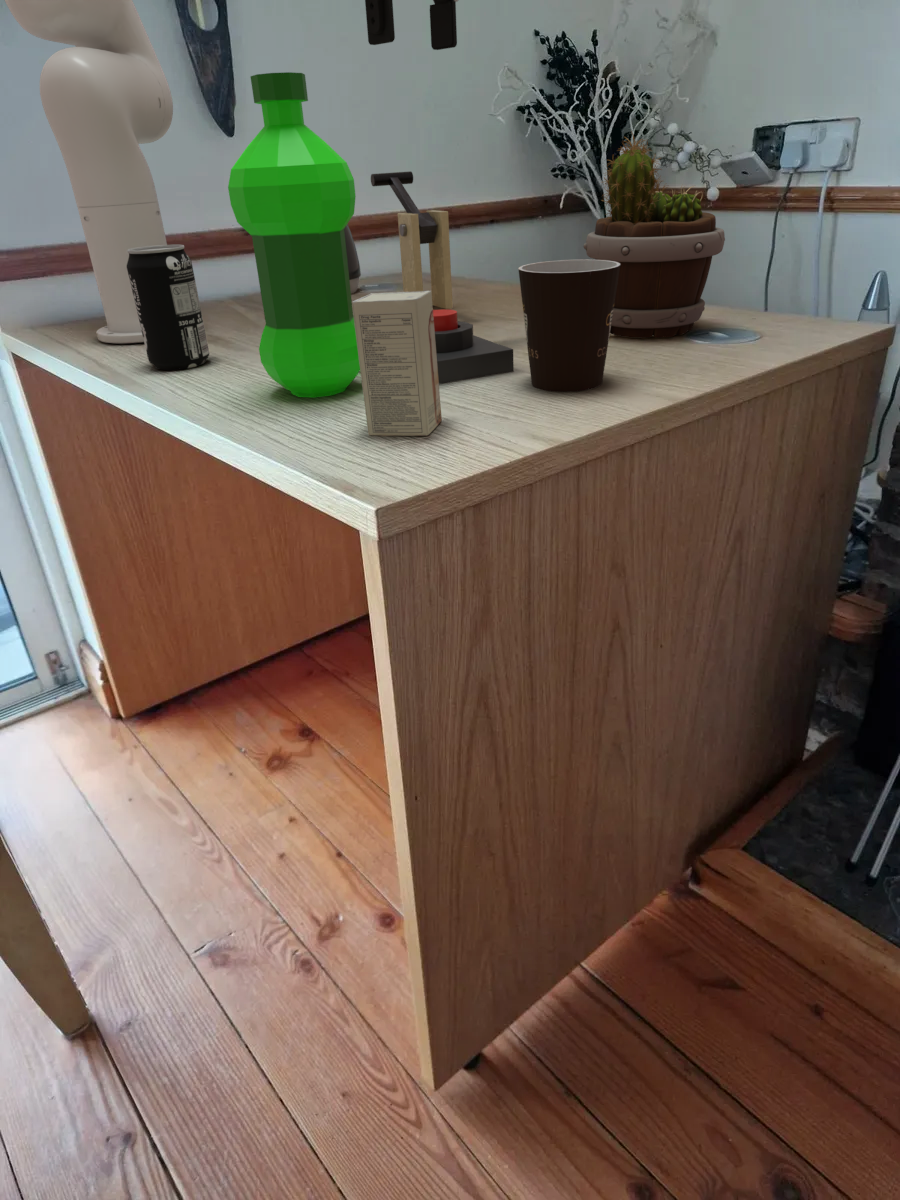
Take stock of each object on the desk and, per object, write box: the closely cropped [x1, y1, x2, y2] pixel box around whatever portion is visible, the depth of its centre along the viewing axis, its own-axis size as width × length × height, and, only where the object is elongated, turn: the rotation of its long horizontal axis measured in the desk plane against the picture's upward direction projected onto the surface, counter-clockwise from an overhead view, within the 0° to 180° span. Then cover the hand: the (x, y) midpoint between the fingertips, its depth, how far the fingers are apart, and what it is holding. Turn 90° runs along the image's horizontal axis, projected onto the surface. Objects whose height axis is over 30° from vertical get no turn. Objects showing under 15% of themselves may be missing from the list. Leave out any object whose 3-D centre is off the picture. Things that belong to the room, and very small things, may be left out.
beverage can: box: [127, 244, 210, 371], centre depth 86 cm, size 7×7×12 cm
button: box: [433, 308, 459, 331], centre depth 78 cm, size 4×4×2 cm
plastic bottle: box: [227, 71, 360, 399], centre depth 69 cm, size 10×10×25 cm
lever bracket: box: [397, 209, 454, 310], centre depth 102 cm, size 10×8×13 cm
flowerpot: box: [583, 130, 726, 339], centre depth 87 cm, size 14×15×20 cm
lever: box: [370, 171, 437, 245], centre depth 102 cm, size 13×6×2 cm
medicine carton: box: [352, 290, 443, 437], centre depth 61 cm, size 5×4×10 cm
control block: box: [435, 320, 515, 385], centre depth 80 cm, size 12×10×4 cm
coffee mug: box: [517, 259, 620, 393], centre depth 71 cm, size 12×9×10 cm
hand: (414, 45), depth 83 cm, fingers open, 9 cm apart
